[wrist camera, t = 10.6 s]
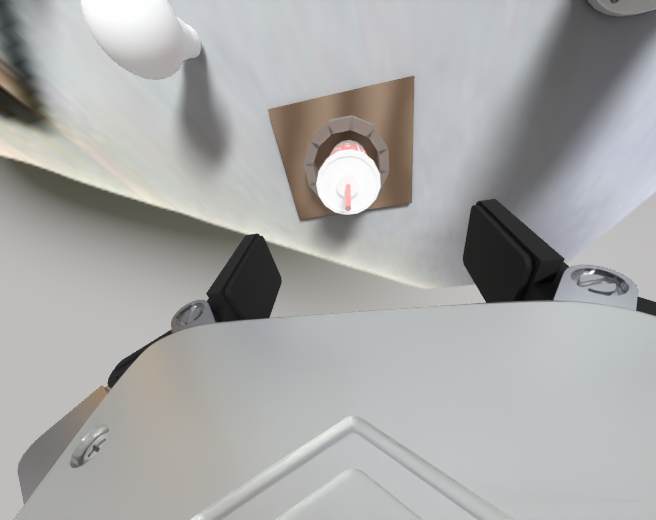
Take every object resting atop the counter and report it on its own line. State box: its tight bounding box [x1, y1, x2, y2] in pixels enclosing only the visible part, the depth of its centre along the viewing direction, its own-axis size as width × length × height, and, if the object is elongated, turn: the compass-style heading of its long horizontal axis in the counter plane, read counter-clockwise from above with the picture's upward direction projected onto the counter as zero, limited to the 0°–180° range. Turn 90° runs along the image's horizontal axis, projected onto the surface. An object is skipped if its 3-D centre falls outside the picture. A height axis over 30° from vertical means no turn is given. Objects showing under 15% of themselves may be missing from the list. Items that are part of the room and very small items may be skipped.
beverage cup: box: [316, 140, 381, 215], centre depth 24 cm, size 6×6×14 cm
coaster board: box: [268, 76, 414, 219], centre depth 29 cm, size 16×14×4 cm
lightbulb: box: [81, 0, 201, 80], centre depth 20 cm, size 6×6×11 cm
